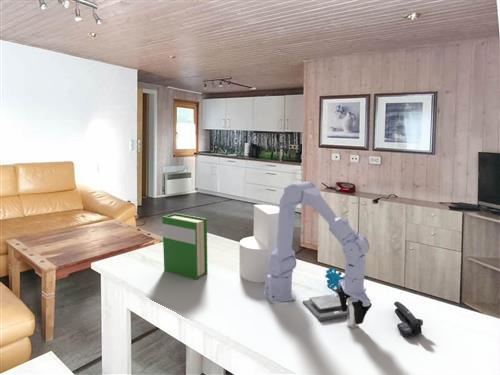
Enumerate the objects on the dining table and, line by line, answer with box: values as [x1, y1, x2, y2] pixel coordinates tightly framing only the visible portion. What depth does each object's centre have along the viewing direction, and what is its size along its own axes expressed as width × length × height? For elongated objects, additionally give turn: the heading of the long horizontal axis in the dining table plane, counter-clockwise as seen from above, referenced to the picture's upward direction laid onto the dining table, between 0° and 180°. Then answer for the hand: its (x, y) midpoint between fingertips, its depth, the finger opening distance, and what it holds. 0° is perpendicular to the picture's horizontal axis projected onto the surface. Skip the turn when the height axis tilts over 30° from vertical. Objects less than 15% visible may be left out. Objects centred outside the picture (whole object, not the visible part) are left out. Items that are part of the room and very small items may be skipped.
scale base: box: [302, 299, 347, 323], centre depth 122 cm, size 13×13×2 cm
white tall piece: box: [239, 204, 280, 283], centre depth 149 cm, size 17×17×28 cm
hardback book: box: [162, 212, 208, 281], centre depth 150 cm, size 18×7×24 cm, turn 59°
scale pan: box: [308, 293, 341, 310], centre depth 123 cm, size 10×8×1 cm
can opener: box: [393, 301, 424, 337], centre depth 113 cm, size 18×7×6 cm, turn 174°
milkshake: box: [345, 296, 359, 329], centre depth 112 cm, size 4×5×10 cm
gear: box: [324, 267, 345, 292], centre depth 138 cm, size 11×6×10 cm
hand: (351, 316), depth 112 cm, fingers open, 7 cm apart
